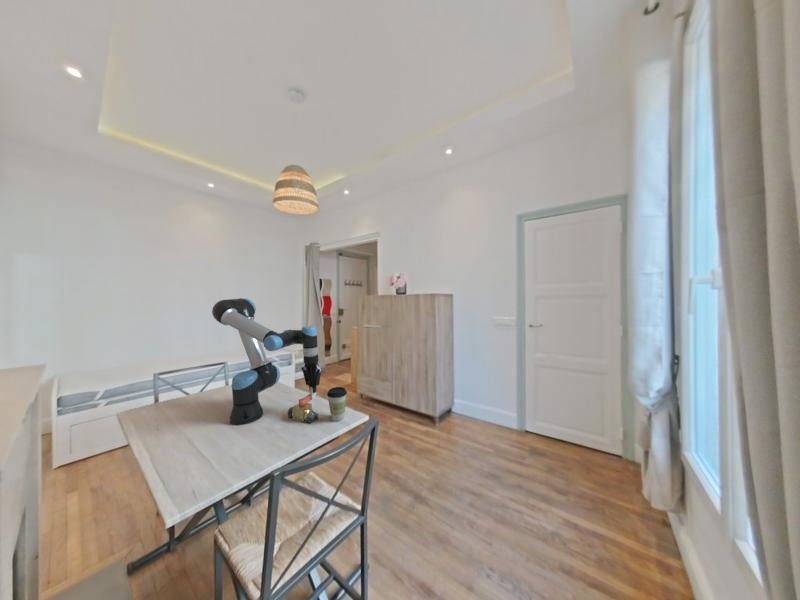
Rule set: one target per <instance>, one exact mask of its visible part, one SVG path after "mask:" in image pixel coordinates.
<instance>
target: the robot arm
mask: <svg viewBox="0 0 800 600" xmlns="http://www.w3.org/2000/svg"><path fill="white" fill-rule="evenodd" d="M256 311H257V307H256V304H255V303H254V302H253V301H252V300H251V299H249V298H243V297H242V298H241V297H240V298H232V299H231V298H229V299H222V300H219V301H217V302H216V303H215V304H214V305H213V306H212V309H211V313H212V317H213V318H214V319H215V320H216V321H217V322H218V323H220V324H221V325H223V326H229V327H231V328H233V329H236V330H238V333H239V336H240V339H241V343H242V344H243V348H244V349H245V350H244V351H245V353H246V356H247V358H248V361H249V364H250V368H249V369H248V370H245V371H242V372H239V373H237V374H235V375H234V376H233V377H232V379H231V393H232V394H231V395H232V408H231V412H230V415H229V422H230V424H231V425H233V426H234V425H237V426H240V425H246V424H252V423H253V422H256V421H258V420H260V419H261V418H262V417H264V416H263V415H264V410H263V407H262V405H261V402H260V400H259V398H260V397H259V393H261V392H263V391H265V390H267V389H269V388H272V387H274V385H276V384H278V382H279V381H280V378H281V372H280V369H279V367H278V366H277V365H275V364H273V363H272V361H271V360H269V359H268V358H267V356H266V352H265V350H266V351H268V352H273V351H278V350H281V349H283V348H286V347H291V346H292V345H302V352H303V364H304V366H302V367H301V371H302V374H303V377H304V382H305V385H306V386H308V388H309V394H310V393H311V399H312V400H314V399H316V398H317V396H316V392H317V386H319V385H320V381H321V374H322V371H323V368H322V367H320V366H319V355H318V354H319V347H318V345H319V344H318V332H317V331H318V330H317V327H316V326H315V325H304V326H302V327H301V329H285V330H283V332H276V331H274V330H272V329H270V328H269V327H266V326H265V325H262V324H261V323H259V322H257V321H255V317H256V316H255V315H256V313H257V312H256ZM264 348H265V350H264Z"/></svg>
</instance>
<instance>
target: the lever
mask: <svg viewBox="0 0 800 600" xmlns="http://www.w3.org/2000/svg"><path fill="white" fill-rule="evenodd" d="M317 396H318V391H316V397H317ZM312 400H313V399H311V393H310V392H309V394H307V395H306V396H304V397H302V398H300V399H298V403H299V406H304V405H305V404H306V403H309V402H310V401H312Z"/></svg>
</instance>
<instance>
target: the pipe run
mask: <svg viewBox="0 0 800 600" xmlns="http://www.w3.org/2000/svg"><path fill="white" fill-rule="evenodd" d="M312 405H313V404H312V403H309V402H307V403H306V404H305V405H304V406H299V402H298V403H297V404H295V405H293V406H290V408H289V409H288V411H287V418H288V419H291V420H294V421H296V422H301V423H305V422H306V423H307V424H310V425H311V424H313V423H314V422H316V421H317V420H318V419H319V415H318V413H317V412H315V411H314V409H313V407H312Z"/></svg>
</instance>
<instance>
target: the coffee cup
mask: <svg viewBox="0 0 800 600" xmlns="http://www.w3.org/2000/svg"><path fill="white" fill-rule="evenodd" d="M347 393H348V391H347V390H346V388H345V387H344V386H334V387H331V388H330V389H329V390H328V392H327V393H326V395H327V398H328V405H329V412H330V417H331V421H332V422H334V423H335V422H336V423H337V422H341V420H342V421H343V420H344V419H345V413H346V404H347V403H346V402H347V401H346V400H347Z"/></svg>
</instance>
